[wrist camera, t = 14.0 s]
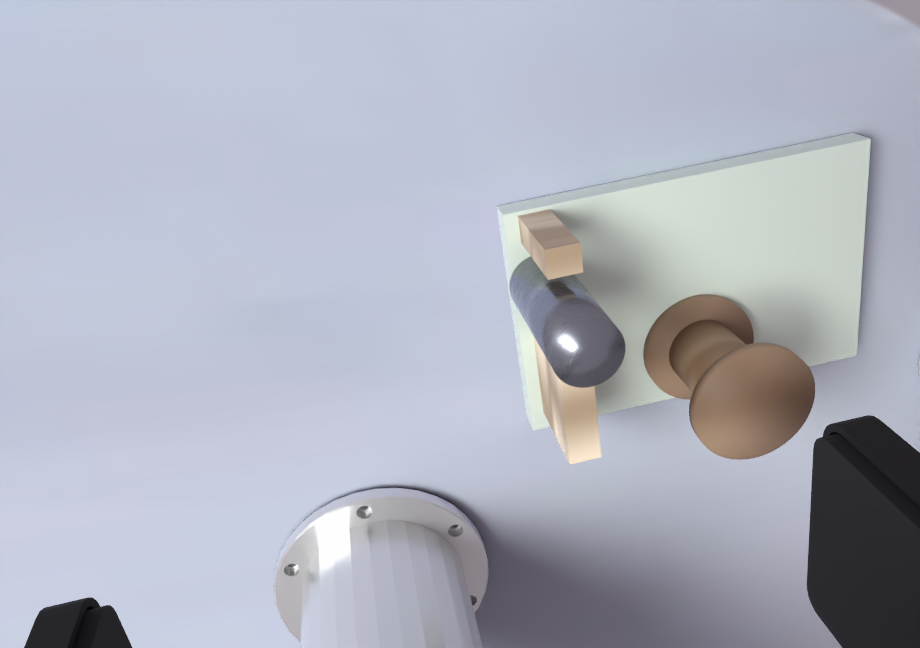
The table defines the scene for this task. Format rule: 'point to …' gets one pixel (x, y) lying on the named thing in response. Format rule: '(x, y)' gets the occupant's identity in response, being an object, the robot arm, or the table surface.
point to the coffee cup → (919, 366)
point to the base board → (714, 254)
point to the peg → (567, 326)
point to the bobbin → (728, 377)
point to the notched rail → (561, 402)
